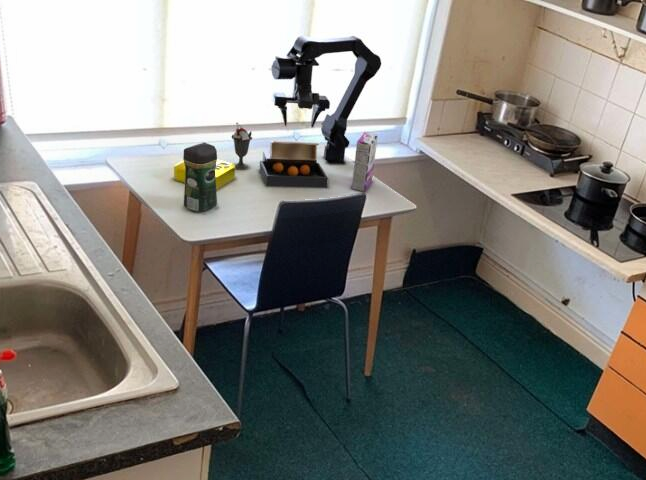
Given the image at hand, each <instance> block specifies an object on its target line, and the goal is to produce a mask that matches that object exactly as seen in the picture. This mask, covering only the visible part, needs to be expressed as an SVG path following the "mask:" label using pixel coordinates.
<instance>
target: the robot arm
mask: <svg viewBox="0 0 646 480" xmlns="http://www.w3.org/2000/svg"><path fill="white" fill-rule="evenodd" d="M347 52H351V53H352V54H353V55H354V56H355V58H356V60H355V63H354V73H353V76H352V78H351V80H350V82H349V84H348V86H347V88H346V90H345V91H344V94H343V96H342V97H341V99H340V101H339V104H338V105H337V106H336V109H335V111H334V112H333V113H332V114H331V115H330V114H328V113H327V114H326V115H325V117H324V120H323V121H322V123H321V128H320V130H321V134H322V136H323V138H324V140H325V141H326V145H325V146H324V150H323V151H324V152H323V158H324V160H325V161H326V163H327V164H338V165H345V164H346V161H345V155H346V148H348V147H349V145H350V140H349V139H348V138H347V136H346V132H347V129H348V127H347V126H348V119H349V117H350V115H351V113H352V111H353V109H354V107H355V105H356V103H357V102H358V99H359V98H360V96H361V94H362V92H363V90H364V88H365V86H366V84H367V83H368V81H370V80H371V79H373V78H374V77H375V76H376V74H377V73H378V72H379V70H380V69H381V66H382V59H381V57H380V56H379V55H378V54H376V53H374V52H373V51H372V50H371V49H370V48H369V47H368V46H367V45H366V44H365V43H364V41H363V39H361V38H359V37H357V36H355V35H351V36H344V37H343V36H342V37H333V38H331V37H330V38H316V37H312V36H304V35H300V36H297V38H296V39H295V41H294V44H293V46H292V47H291V48H290V49H289V51H288V53H286V56H277V55H275V57H274V58H275V59H274V60H273V62H272V64H271V76H272V78H273V79H274V80H293V88H292V96H286V94H285V93H284V92H273V93H272V95H271V102H272V104H273V105H274V106H275V107H277V108H278V109H279V110H280V113H281V116H282V120H283V124H284V126H285V127H287V125H288V115H287V113H288V112H287V111H288V107H287V104H297V108H299V109H308V110H312V113H311V121H310V124H311V125H310V127H311V128H312V129H313V128H314V126H315V124H316V122H317V119H318V118H319V116H320V114H321V113H322V112H325V111H326V110H330V107H331V101H330V100H329V99H328V97H327V96H326V95H320V93H319V92H313V91H312V79H313V68H314V67H319V66H320V63H319V62H318V61H317V58H320V57H321V56H323V55H325V54H336V53H337V54H338V53H347Z"/></svg>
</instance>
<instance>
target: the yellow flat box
mask: <svg viewBox="0 0 646 480" xmlns="http://www.w3.org/2000/svg"><path fill="white" fill-rule="evenodd" d="M173 178H174V180H175V181H177V182H181V183H184V184H185V164H184V161H183V160H182V161H180V162H178V163H176V164H174V165H173ZM235 178H236V168H235V165H234V163H230V162H228V161H224V160H220V159H217V163H216V190H218V189H220V188H222V187H223V186H225V185H227V184H229V183H230V182H232V181H233V180H235Z"/></svg>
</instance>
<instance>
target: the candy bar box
mask: <svg viewBox="0 0 646 480" xmlns="http://www.w3.org/2000/svg"><path fill="white" fill-rule="evenodd" d="M378 136H379V134H376V133H372V132H368V131H364V132H363V133H362V135H361V136H360V137H359V138H358V140H357V141H356V147H355V148H356V149H355V157H354V166H353V173H352V183H351V189H352V190H354V191H359V192H364V193H366V191H367V189H368V187H369V186H370V184H371V183H372V182H373V174H374V167H375V160H376V151H377V143H378Z"/></svg>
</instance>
